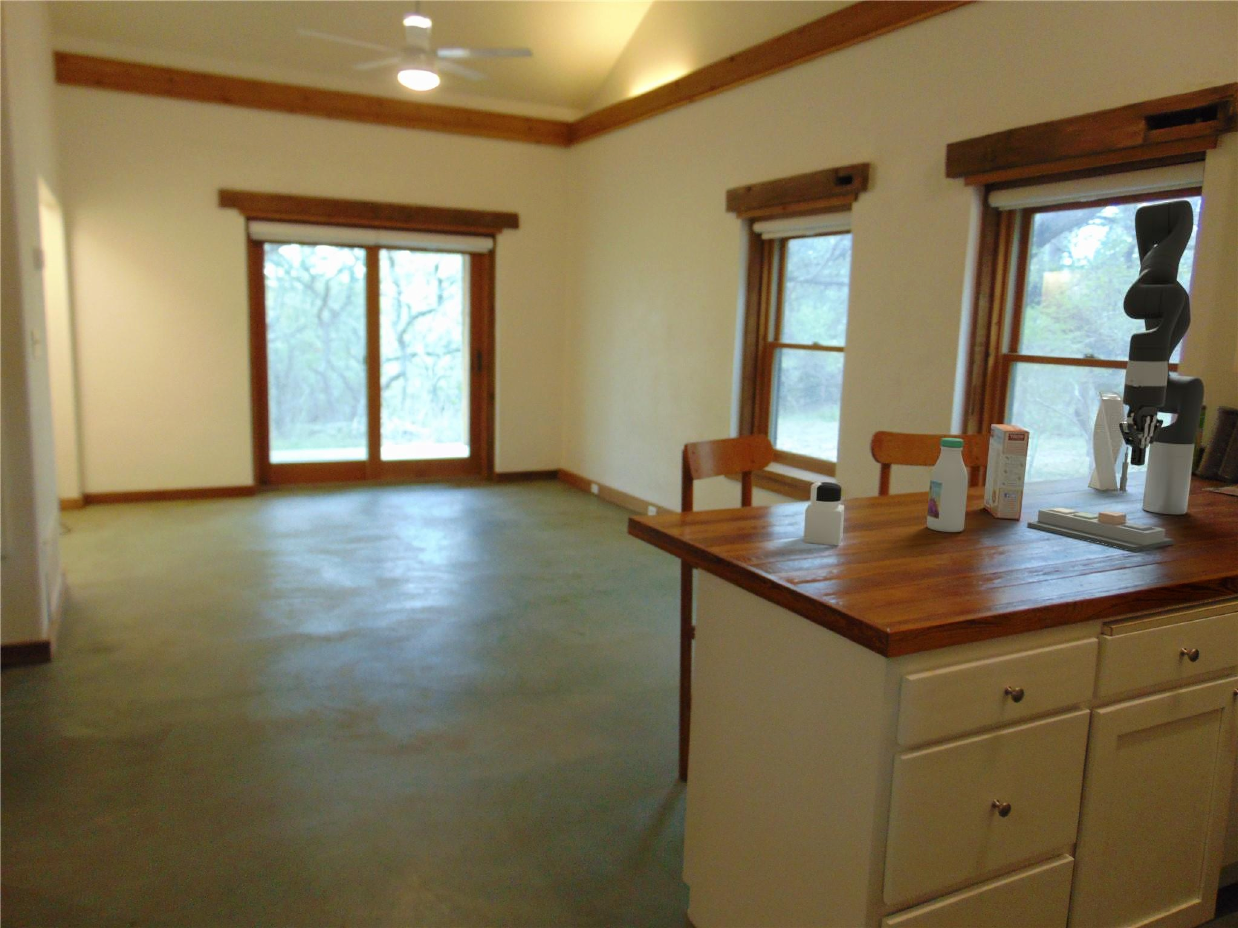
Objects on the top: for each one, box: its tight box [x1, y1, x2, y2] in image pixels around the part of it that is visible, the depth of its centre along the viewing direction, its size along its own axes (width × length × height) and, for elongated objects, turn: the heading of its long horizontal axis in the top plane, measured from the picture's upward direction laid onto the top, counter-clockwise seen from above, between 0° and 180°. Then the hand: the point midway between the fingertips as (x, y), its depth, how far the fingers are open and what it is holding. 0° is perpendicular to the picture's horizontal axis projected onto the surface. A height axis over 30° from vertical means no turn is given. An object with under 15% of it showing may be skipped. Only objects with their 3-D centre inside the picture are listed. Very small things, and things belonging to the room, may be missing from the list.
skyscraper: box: [1087, 389, 1130, 492], centre depth 244 cm, size 8×8×28 cm
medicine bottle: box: [803, 481, 845, 547], centre depth 180 cm, size 7×7×12 cm
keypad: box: [1026, 506, 1174, 553], centre depth 190 cm, size 14×24×4 cm, turn 30°
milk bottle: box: [926, 437, 969, 533], centre depth 192 cm, size 8×8×20 cm
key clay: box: [1097, 510, 1127, 525], centre depth 188 cm, size 4×4×3 cm
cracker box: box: [983, 423, 1030, 521], centre depth 209 cm, size 14×6×21 cm, turn 168°
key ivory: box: [1050, 507, 1078, 515], centre depth 197 cm, size 4×4×3 cm
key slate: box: [1123, 522, 1153, 531], centre depth 183 cm, size 4×4×3 cm
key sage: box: [1074, 512, 1098, 520], centre depth 193 cm, size 4×4×3 cm
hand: (1137, 465), depth 186 cm, fingers closed
